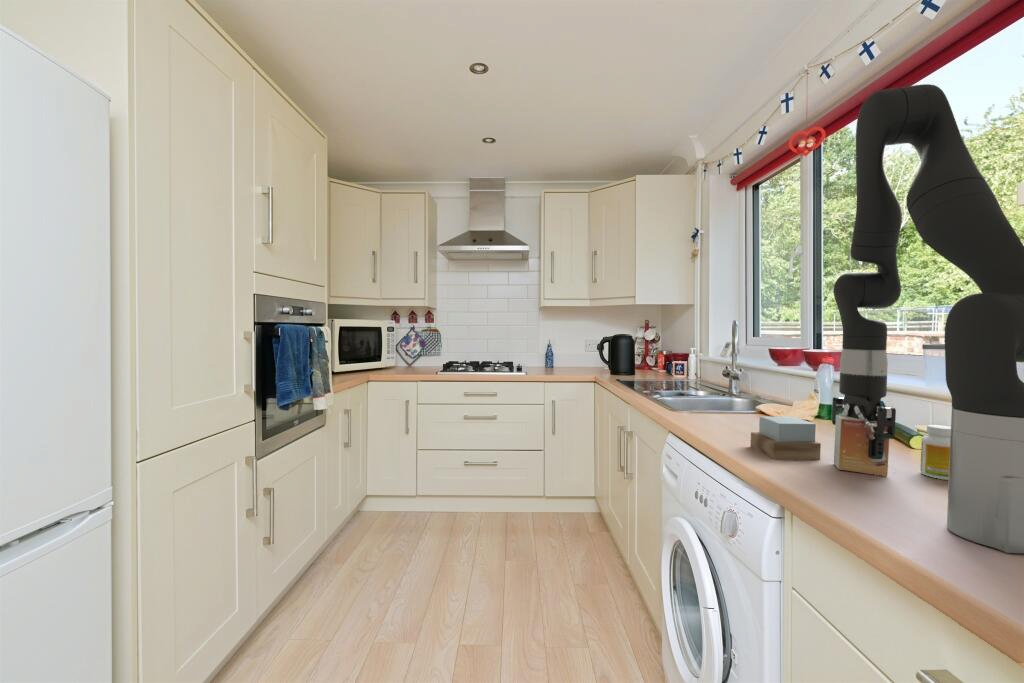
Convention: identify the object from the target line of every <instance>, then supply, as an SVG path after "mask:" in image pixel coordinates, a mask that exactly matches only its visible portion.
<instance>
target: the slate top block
mask: <svg viewBox="0 0 1024 683" xmlns="http://www.w3.org/2000/svg"><path fill="white" fill-rule="evenodd" d="M758 422H759V425H758V426H759V427H758V429H759V430H758V432H759V433H760V434H762V435H765V436H767V437H769V438H772V439H774V440H776V441H781V442H816V428H817V427H816V426H817V425H816V423H813V422H812V421H811V422H810V421H808V420H805V419H801V418H799V417H796V416H766V415H765V416H761V415H760V416H759V421H758Z"/></svg>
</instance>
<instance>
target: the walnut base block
mask: <svg viewBox="0 0 1024 683" xmlns="http://www.w3.org/2000/svg"><path fill="white" fill-rule="evenodd" d="M821 445H822V444H821V442H817V441H815V442H781V441H776V440H774V439H772V438H769V437H767V436H765V435H762V434H760V433H759V431H757V432H756V431H754V432H753V431H751V432H750V448H752V449H754V450H755V451H757V450H758V451H757V452H759V451H760V452H759V453H761V452H762V453H761V454H763V453H764V454H763V455H765V454H766V456H767V455H768V457H769V458H772V459H774V460H807V459H820V460H821V448H822V447H821Z"/></svg>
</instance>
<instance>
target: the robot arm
mask: <svg viewBox="0 0 1024 683" xmlns="http://www.w3.org/2000/svg"><path fill="white" fill-rule="evenodd" d="M858 112H859V113H858V115H857V119H856V126H855V127H856V128H855V175H856V176H855V178H856V181H855V182H856V183H855V184H856V210H855V211H856V212H855V218H854V227H853V233H852V234H853V235H852V240H851V246H850V258H852V259H853V260H855V261H856V262H862V263H869V264H874V265H876V268H877V271H876V272H875V271H873V272H847V273H843V274H841V275H840V276H839V277H837V279H836V280H835V282H834V285H833V296H834V300H835V304H836V306H837V309H838V312H839V317H840V320H841V326H842V346H841V347H842V349H841V355H840V362H839V367H840V368H839V393H840V394H842V395H843V396H844V397H841V396H836V397H835V396H834V397H832V411H831V412H832V413H831V415H832V416H831V417H832V418H831V424H832V425H834V426H835V423H836V415H841V416H846V417H848V416H849V417H853V418H857V419H860V421H861V424H862V427H863V428H864V429H866V430H867V433H868V435H869V438H870V439H869V448H868V457H869V458H871V459H882V457H883V453H884V452H883V451H884V450H883V449H884V441H885V440H886V439H889V440H894V439H895V436H896V435H895V434H896V417H897V416H896V414H897V412H896V408H895V407H893V406H892V407H891V406H889V407H888V406H887V407H885V406H883V404H882V398H883V399H884V398H885V397H886V396H887V391H888V390H887V389H888V366H889V364H888V355H887V347H888V346H887V345H888V343H887V342H888V338H887V337H888V326H887V324H886V322H884V321H882V320H877V319H871V318H867V317H863V315H861V313H860V311H859V310H858V309H860V308H861V309H869V308H870V309H873V308H875V309H877V308H879V309H880V308H881V309H883V308H884V309H885V308H890V307H891V306H893V305H894V304H895V303H897V301H898V300H899V299H900V296H901V294H902V285H901V280H900V279H901V278H900V275H899V267H898V258H897V256H898V255H897V254H898V252H897V249H898V245H899V238H900V235H901V234H900V233H901V230H902V229H901V228H902V222H903V212H902V207H901V204H900V201H899V200H898V197H897V196H896V194H895V192H894V190H893V188H892V186H891V185H890V182H889V180H888V177H887V174H886V173H885V168H884V156H885V155H884V154H885V148H886V146H894V145H903V144H910V145H911V146H913V147H914V149H915V150H916V152H917V153H918V154H917V155H918V156H919V159H920V165H919V169H918V170H917V172H916V174H915V176H914V178H913V180H912V182H911V183H910V187H909V189H908V191H907V194H906V195H907V196H906V203H905V204H906V209H907V211H908V213H909V216H910V219H911V221H912V223H913V225H914V227H915V230H916V231H917V233H918V235H919V237H920V238H921V240H923V242H924V243H925V245H927V246H929V248H931V249H932V250H933V252H936V253H937V254H938V255H939V256H941V257H942V258H944V259H945V260H946V261H948V262H950V263H951V264H952V265H954V266H955V267H957V268H958V269H960V270H961V271H962V272H963V273H965V275H967V276H968V277H969V278H970V279H971V280H972V281H973V283H975V285H976V286H977V288H978V290H980V291H981V293H980V292H979V293H973V294H968V295H965V296H964V297H962V298H960V299H959V300H958V301H957V302H955V303H954V305H953V306H952V307H951V308H950V309H949V310H950V311H949V312H948V315H947V318H946V321H945V325H944V326H945V327H944V357H945V359H944V361H945V366H944V367H945V382H946V386H947V390H948V391H949V394H950V396H951V416H950V417H951V418H950V420H951V421H950V427H951V436H950V459H949V480H948V484H947V485H948V486H947V488H948V489H947V511H946V512H947V513H946V514H947V515H946V516H947V517H946V527H947V530H949V531H950V532H952V533H953V534H954V535H957V536H958V537H961V538H963V539H965V540H968V541H970V542H974V543H977V544H980V545H983V546H987V547H990V548H994V549H997V550H999V551H1002V552H1003V553H1006V554H1007V553H1008V554H1024V382H1023V381H1022V380H1021V378H1020V377H1019V375H1018V368H1017V365H1018V364H1017V363H1024V244H1023V242H1022V240H1021V239H1020V237H1019V236H1018V234H1017V232H1016V231H1015V230H1014V228H1013V226H1012V224H1011V222H1010V221H1009V219H1008V218H1007V217H1006V215H1005V213H1004V212H1003V209H1002V208H1001V206H1000V203H999V201H998V199H997V197H996V196H995V193H994V192H993V190H992V188H991V187H990V185H989V183H988V182H987V180H986V177H984V175H983V174H982V172H981V171H980V169H979V168H978V166H977V164H976V163H975V161H974V159H973V156H972V155H971V153H970V151H969V148H968V147H967V145H966V144H965V141H964V139H963V137H962V134H961V131H960V129H959V127H958V124H957V121H956V118H955V115H954V112H953V110H952V106H951V104H950V102H949V100H948V98H947V96H946V94H945V91H944V90H942V89H941V87H939V86H938V85H935V84H915V85H909V86H908V85H907V86H901V87H893V88H892V87H891V88H885V89H881V90H880V89H879V90H876V91H875V92H872V93H871V94H869V96H868V97H867V98H866V99H865V100H864V101H863V103H862V104H861V107H860V108H859V111H858ZM868 421H877V423H869V422H868ZM885 426H887V432H885V431H884V427H885ZM873 428H877V433H875V432H874V429H873Z"/></svg>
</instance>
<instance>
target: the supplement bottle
mask: <svg viewBox="0 0 1024 683" xmlns="http://www.w3.org/2000/svg"><path fill="white" fill-rule="evenodd" d="M926 433H928V434H927V435H924V436H923V437H922V438H921V443H920V444H921V447H920V448H921V449H920V474H921V475H923V476H925V475H926V476H925V477H928V476H929V477H928V478H933V479H936V478H937V480H941V481H942V480H944V481H949V459H950V436H951V426H945V425H941V424H927V425H926Z"/></svg>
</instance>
